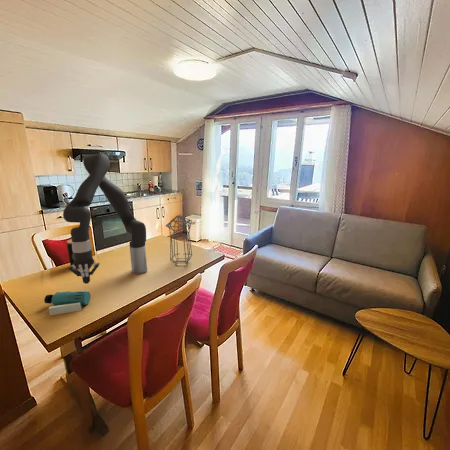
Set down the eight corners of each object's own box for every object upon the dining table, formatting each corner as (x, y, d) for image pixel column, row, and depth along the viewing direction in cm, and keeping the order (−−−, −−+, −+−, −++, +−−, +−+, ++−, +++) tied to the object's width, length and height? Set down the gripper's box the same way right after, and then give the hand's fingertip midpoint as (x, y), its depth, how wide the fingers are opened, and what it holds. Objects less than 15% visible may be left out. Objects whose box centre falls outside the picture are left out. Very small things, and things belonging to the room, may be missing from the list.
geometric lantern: (190, 268, 152) (188, 218, 143) (167, 268, 153) (163, 217, 144) (194, 259, 168) (192, 212, 158) (173, 259, 168) (170, 212, 159)
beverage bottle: (86, 300, 106) (39, 301, 104) (90, 307, 110) (45, 309, 108) (91, 288, 111) (46, 289, 108) (95, 296, 115) (52, 296, 113)
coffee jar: (72, 270, 146) (67, 243, 141) (69, 265, 154) (65, 239, 149) (90, 266, 153) (87, 240, 148) (87, 261, 160) (84, 236, 156)
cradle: (87, 295, 118) (86, 289, 117) (80, 310, 106) (79, 304, 105) (59, 299, 114) (58, 293, 114) (49, 315, 103) (48, 308, 102)
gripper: (99, 245, 112) (103, 277, 116) (68, 247, 107) (73, 281, 112) (96, 250, 105) (100, 284, 109) (62, 253, 100) (68, 288, 105)
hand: (86, 282), depth 110 cm, fingers closed
